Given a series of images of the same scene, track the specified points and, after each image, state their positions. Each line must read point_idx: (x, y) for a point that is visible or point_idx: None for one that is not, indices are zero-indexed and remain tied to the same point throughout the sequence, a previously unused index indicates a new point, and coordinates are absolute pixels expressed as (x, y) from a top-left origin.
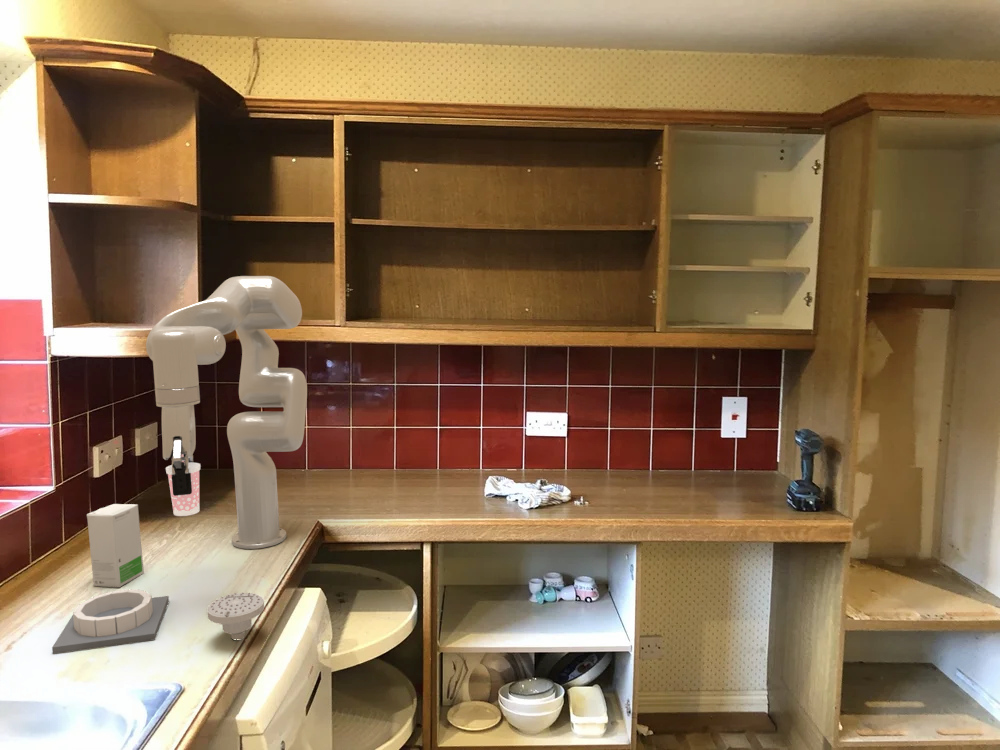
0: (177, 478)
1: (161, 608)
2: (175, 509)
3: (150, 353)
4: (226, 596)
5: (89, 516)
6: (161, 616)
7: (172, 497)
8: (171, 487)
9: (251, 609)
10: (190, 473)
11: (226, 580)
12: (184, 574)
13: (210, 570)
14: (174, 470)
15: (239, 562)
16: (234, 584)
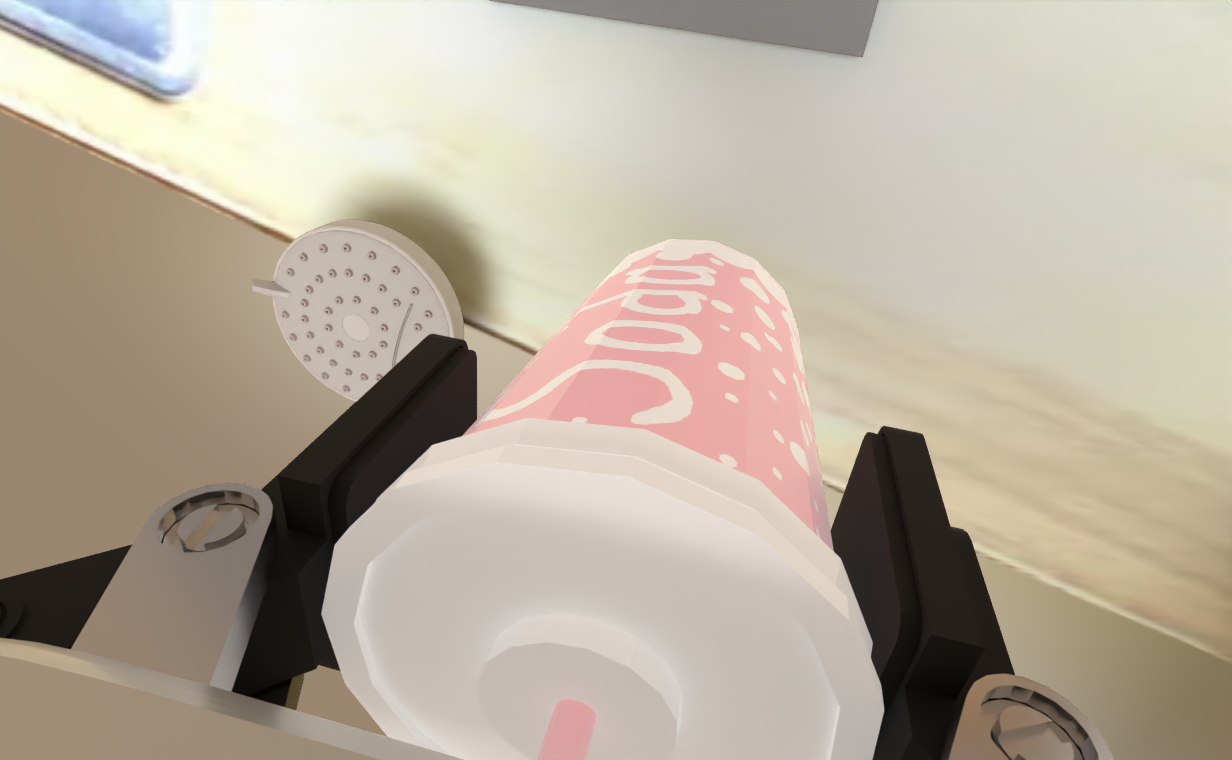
0: (270, 499)
1: (723, 23)
2: (612, 273)
3: None
4: (411, 307)
5: None
6: (650, 24)
7: (603, 302)
8: (552, 354)
9: (304, 361)
10: (330, 661)
11: (951, 312)
12: (1198, 139)
13: (1145, 265)
14: (54, 566)
15: (1144, 393)
16: (881, 334)
